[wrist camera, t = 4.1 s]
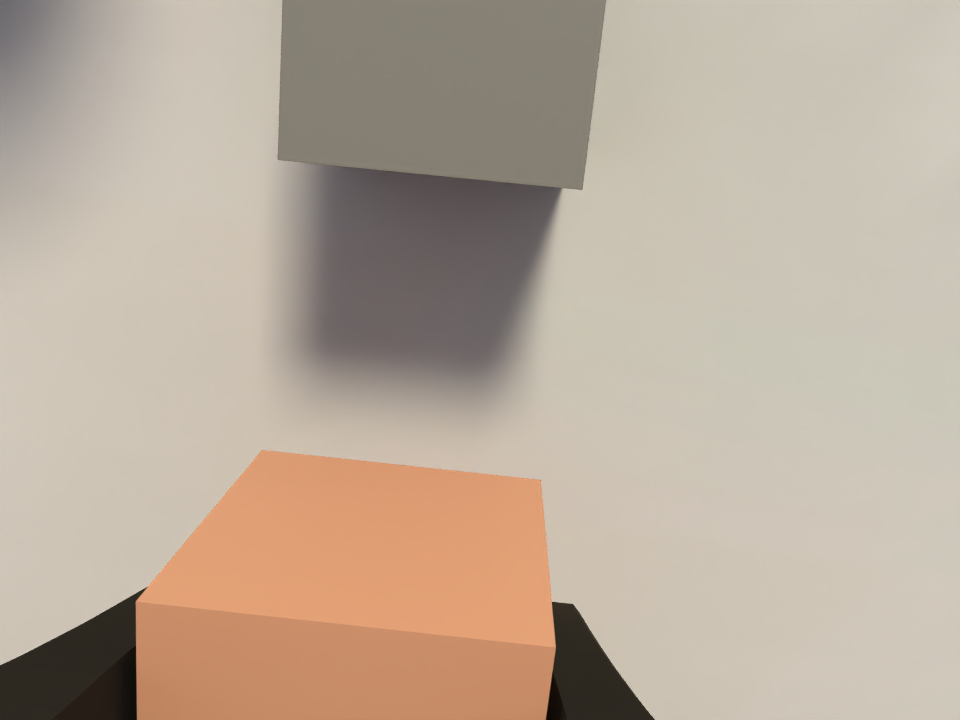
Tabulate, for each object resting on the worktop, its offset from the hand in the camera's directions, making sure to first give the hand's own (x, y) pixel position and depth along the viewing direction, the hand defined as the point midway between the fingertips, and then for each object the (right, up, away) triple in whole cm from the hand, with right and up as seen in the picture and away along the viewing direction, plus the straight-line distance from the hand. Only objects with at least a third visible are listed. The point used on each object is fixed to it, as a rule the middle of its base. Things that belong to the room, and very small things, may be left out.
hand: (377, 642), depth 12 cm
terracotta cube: (0, 0, +1) cm, 2 cm away
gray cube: (+1, +10, +4) cm, 11 cm away
